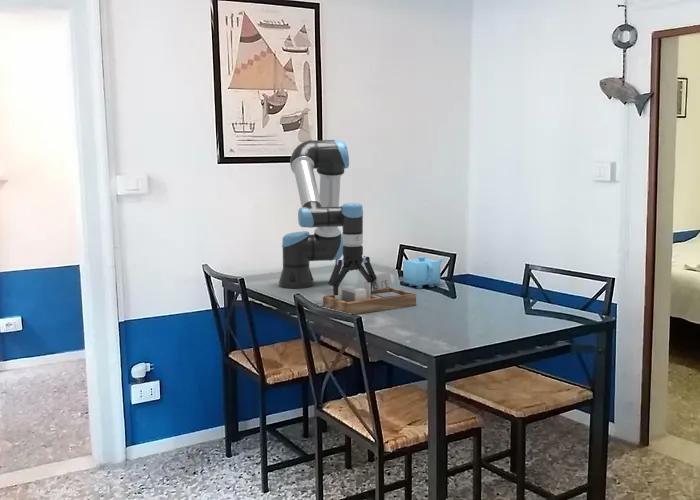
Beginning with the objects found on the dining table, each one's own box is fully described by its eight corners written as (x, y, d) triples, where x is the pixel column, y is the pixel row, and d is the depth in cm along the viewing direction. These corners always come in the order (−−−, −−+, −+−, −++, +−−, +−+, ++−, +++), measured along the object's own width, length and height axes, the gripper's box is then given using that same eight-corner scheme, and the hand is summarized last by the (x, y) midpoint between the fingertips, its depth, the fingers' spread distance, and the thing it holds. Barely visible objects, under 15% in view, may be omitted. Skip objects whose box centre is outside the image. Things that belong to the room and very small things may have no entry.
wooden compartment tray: (322, 308, 287) (322, 296, 286) (390, 298, 305) (390, 286, 304) (346, 316, 274) (346, 303, 273) (416, 305, 292) (416, 292, 291)
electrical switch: (381, 298, 306) (379, 275, 305) (370, 297, 309) (369, 275, 308) (394, 294, 313) (392, 272, 312) (384, 294, 316) (382, 272, 316)
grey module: (370, 304, 294) (370, 293, 294) (393, 302, 299) (393, 291, 298) (382, 309, 287) (382, 297, 286) (405, 306, 291) (405, 295, 291)
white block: (340, 307, 288) (340, 286, 286) (350, 306, 290) (350, 285, 289) (355, 312, 279) (355, 290, 278) (366, 310, 282) (366, 289, 281)
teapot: (419, 290, 321) (419, 260, 319) (400, 284, 335) (400, 255, 333) (454, 286, 329) (455, 256, 328) (434, 280, 343) (434, 252, 341)
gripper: (329, 249, 272) (330, 307, 275) (385, 243, 285) (385, 298, 289) (318, 246, 278) (319, 303, 281) (373, 241, 292) (374, 295, 295)
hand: (353, 301), depth 285 cm, fingers open, 13 cm apart
